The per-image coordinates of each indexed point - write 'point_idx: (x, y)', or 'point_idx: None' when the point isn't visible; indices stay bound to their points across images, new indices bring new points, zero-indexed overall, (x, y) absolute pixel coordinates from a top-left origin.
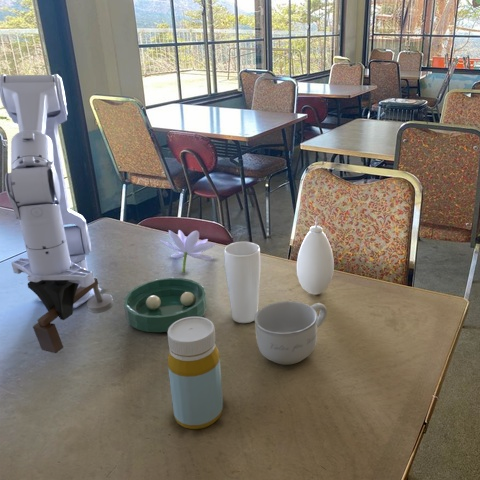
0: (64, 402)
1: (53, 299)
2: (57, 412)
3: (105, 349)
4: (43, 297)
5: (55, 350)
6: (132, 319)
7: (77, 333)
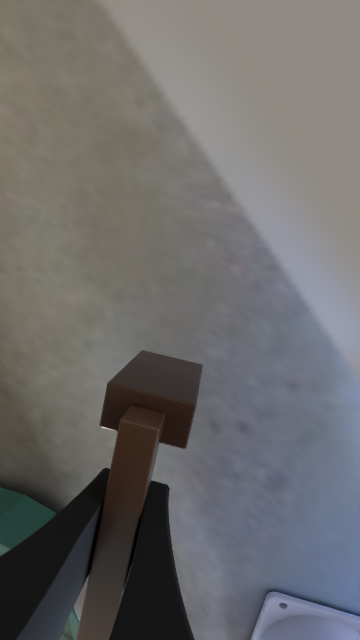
0: (45, 190)
1: (45, 569)
2: (37, 147)
3: (74, 415)
4: (133, 594)
5: (139, 354)
6: (26, 526)
7: (193, 480)
